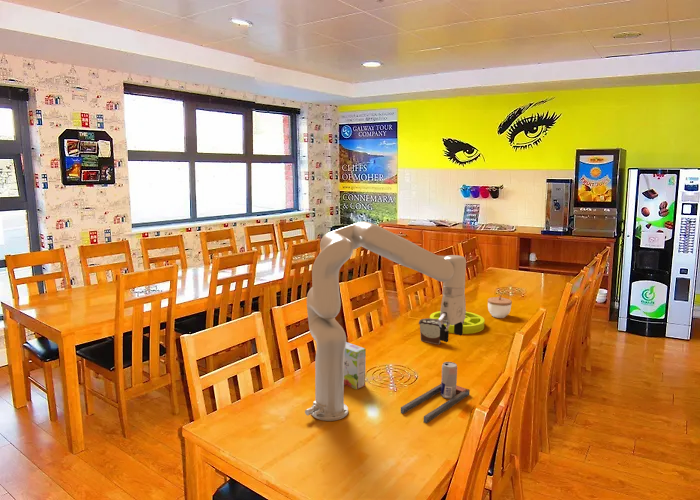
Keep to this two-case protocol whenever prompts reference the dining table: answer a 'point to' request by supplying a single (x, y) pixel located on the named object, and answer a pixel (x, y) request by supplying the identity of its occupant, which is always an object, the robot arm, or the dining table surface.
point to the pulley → (465, 322)
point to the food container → (430, 331)
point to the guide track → (460, 395)
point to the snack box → (354, 366)
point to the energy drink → (449, 380)
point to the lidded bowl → (499, 307)
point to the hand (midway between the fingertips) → (451, 337)
